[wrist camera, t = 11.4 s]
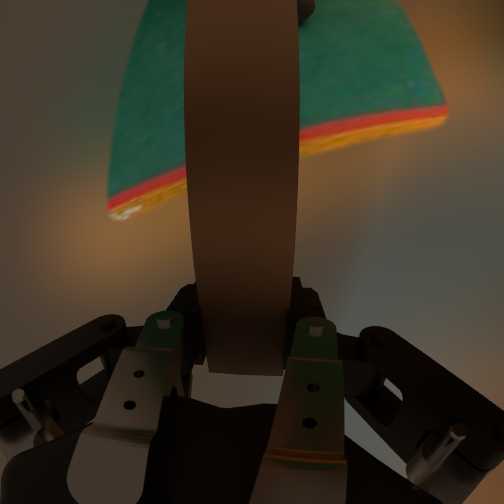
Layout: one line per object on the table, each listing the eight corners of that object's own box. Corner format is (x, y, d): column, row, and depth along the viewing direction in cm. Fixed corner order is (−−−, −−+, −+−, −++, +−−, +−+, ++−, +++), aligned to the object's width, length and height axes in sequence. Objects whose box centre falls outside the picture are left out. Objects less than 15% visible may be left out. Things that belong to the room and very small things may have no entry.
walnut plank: (217, -39, 6) (198, -85, 3) (284, -41, 6) (287, -90, 3) (222, 314, 14) (209, 372, 10) (280, 316, 14) (282, 375, 10)
